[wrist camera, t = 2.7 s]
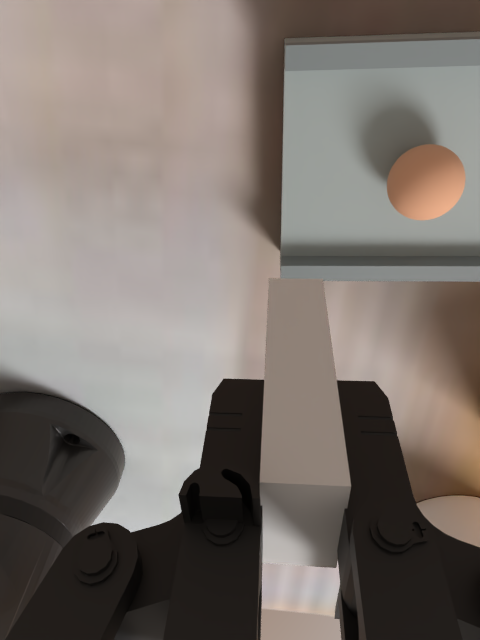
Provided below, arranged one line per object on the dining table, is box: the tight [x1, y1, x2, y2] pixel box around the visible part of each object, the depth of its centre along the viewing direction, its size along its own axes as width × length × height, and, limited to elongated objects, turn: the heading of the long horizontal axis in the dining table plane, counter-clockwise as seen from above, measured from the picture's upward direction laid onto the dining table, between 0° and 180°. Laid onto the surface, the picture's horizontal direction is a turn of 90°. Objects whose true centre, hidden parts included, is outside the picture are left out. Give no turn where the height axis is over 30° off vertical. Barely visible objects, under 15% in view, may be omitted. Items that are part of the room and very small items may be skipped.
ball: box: [387, 144, 466, 220], centre depth 22 cm, size 4×4×4 cm
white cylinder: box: [416, 495, 480, 547], centre depth 43 cm, size 12×12×12 cm
